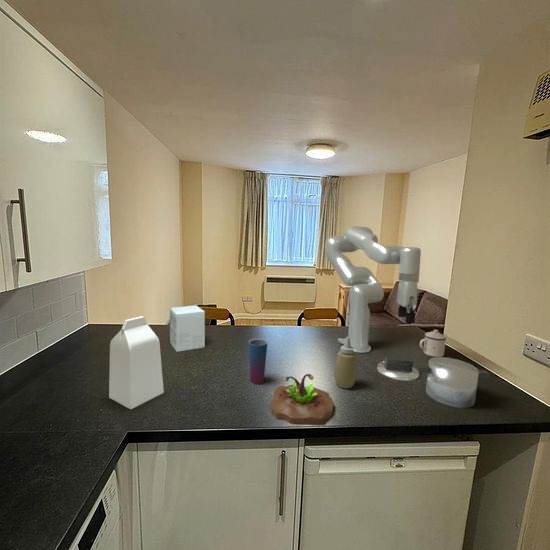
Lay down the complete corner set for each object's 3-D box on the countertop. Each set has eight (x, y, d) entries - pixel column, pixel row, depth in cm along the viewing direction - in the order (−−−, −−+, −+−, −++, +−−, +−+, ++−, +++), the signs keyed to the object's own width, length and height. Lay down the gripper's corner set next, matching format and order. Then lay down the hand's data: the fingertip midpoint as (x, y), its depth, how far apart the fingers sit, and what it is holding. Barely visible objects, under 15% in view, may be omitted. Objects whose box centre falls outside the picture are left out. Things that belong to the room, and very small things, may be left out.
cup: (268, 378, 116) (270, 340, 114) (262, 386, 110) (263, 346, 108) (252, 375, 118) (253, 337, 116) (244, 383, 112) (245, 343, 110)
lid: (381, 379, 120) (382, 365, 119) (373, 362, 135) (374, 350, 135) (425, 383, 118) (426, 369, 117) (411, 365, 134) (413, 353, 133)
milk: (130, 409, 94) (128, 326, 90) (109, 397, 100) (105, 319, 96) (163, 392, 104) (162, 317, 100) (142, 383, 110) (140, 311, 106)
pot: (423, 404, 102) (426, 372, 101) (409, 382, 117) (411, 354, 115) (496, 411, 100) (501, 378, 98) (472, 388, 114) (476, 359, 113)
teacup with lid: (435, 349, 152) (438, 326, 150) (448, 357, 143) (451, 333, 142) (413, 350, 150) (415, 327, 149) (425, 358, 141) (427, 333, 140)
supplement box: (196, 338, 156) (196, 304, 154) (205, 347, 145) (205, 311, 143) (169, 342, 149) (169, 307, 147) (176, 352, 138) (175, 314, 136)
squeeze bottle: (343, 392, 108) (346, 343, 106) (328, 382, 115) (331, 335, 113) (360, 387, 112) (364, 339, 109) (345, 378, 119) (348, 333, 116)
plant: (332, 431, 87) (335, 393, 86) (265, 420, 91) (266, 384, 89) (333, 395, 107) (335, 364, 105) (277, 387, 110) (278, 358, 109)
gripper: (392, 275, 133) (390, 314, 135) (406, 280, 116) (403, 325, 118) (410, 275, 132) (408, 315, 134) (427, 281, 115) (423, 325, 117)
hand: (405, 319), depth 126 cm, fingers open, 9 cm apart
